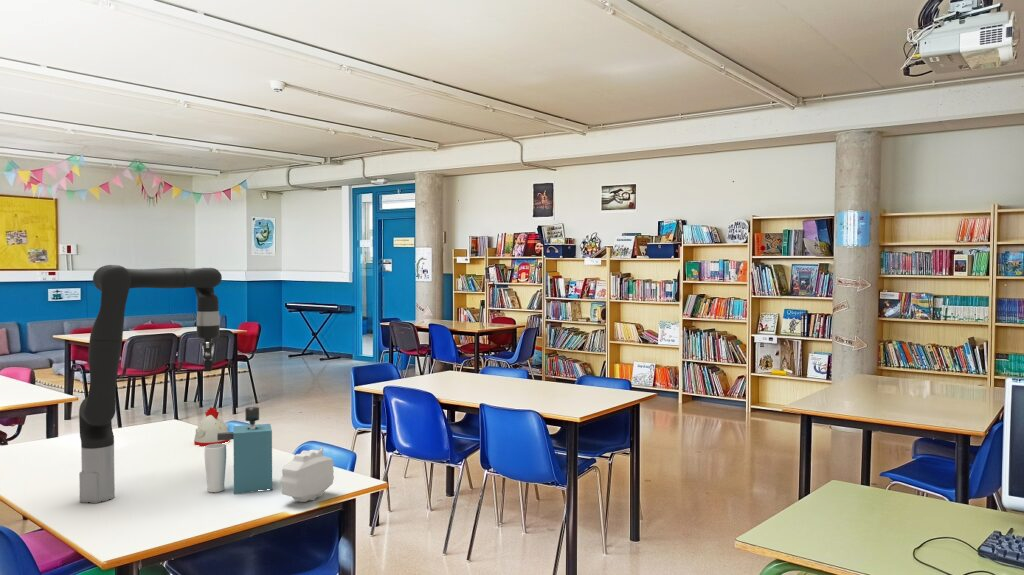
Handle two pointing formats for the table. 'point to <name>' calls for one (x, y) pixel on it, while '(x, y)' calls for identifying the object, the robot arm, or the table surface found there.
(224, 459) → the drinking glass
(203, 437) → the kitchen timer
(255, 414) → the plunger
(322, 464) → the white stepped block
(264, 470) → the dispenser
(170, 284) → the robot arm
